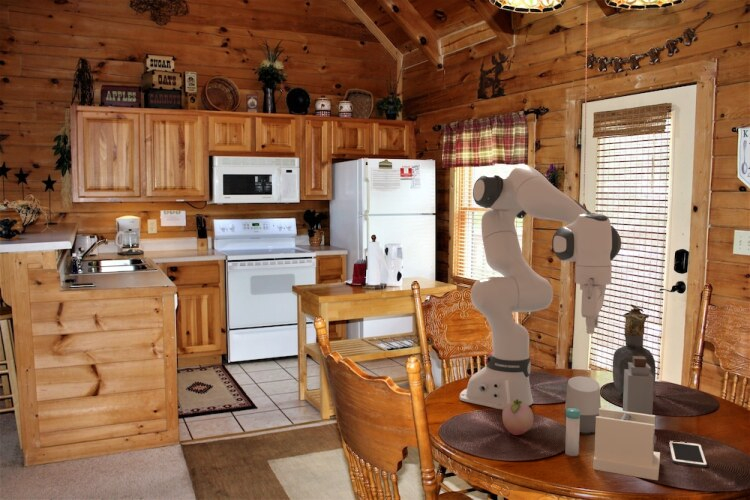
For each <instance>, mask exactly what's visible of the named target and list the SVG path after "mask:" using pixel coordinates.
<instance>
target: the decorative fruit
mask: <svg viewBox="0 0 750 500" xmlns="http://www.w3.org/2000/svg"><path fill="white" fill-rule="evenodd" d="M501 415H502V417H501V418H502V422H503V426H504V428H505V430H507V431H508V432H509V433H510V434H511V435H513V436H515V435H517V436H519V435H523V434H525V433H526V432H528V431H529V430H530V429H532V426H533V425H534V421H535V417H534V413H533V410H532V409H531V407H530V405H529V406H527V405H526V404H524V403H522V401H518V399H517V400H515V401H513V402H511V403H509V404H507V405H506V406H505V407H504V409H502V413H501Z"/></svg>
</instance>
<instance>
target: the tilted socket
mask: <svg viewBox="0 0 750 500" xmlns="http://www.w3.org/2000/svg"><path fill="white" fill-rule="evenodd" d="M655 422H656V415H655V414H652V415H648V414H641V413H634V412H627V411H623V410H618V409H610V408H603V407H601V408H599V416H596V427H595V432H594V456H593V462H592V463H593V464H592V465H593V466H592V467H593V468H592V469H593V470H595V471H596V470H597V471H601V472H607V473H612V474H619V475H625V476H631V477H636V478H642V479H647V480H654V481H659V472H660V459H661V452H660V451H659V452H658V451H655V449H654V448H655V444H656V443H657V435H656V434H655V428H656V427H655V426H656V423H655Z"/></svg>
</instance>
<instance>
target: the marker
mask: <svg viewBox="0 0 750 500" xmlns="http://www.w3.org/2000/svg"><path fill="white" fill-rule="evenodd" d="M579 427H580V410H578V409H575V408H568V409H566V423H565V447H564V448H565V450H564V451H565V453H564V454H565V455H567V456H569V457H577V456H578V455H579V451H580V433H579Z"/></svg>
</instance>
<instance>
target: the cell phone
mask: <svg viewBox="0 0 750 500" xmlns="http://www.w3.org/2000/svg"><path fill="white" fill-rule="evenodd" d="M669 441H670V442H669ZM673 441H675V440H673V439H672V440H671V439H669V440H668V442H669V444H668V448H669V447H670V449H669V453H671V454H670V458H672V459H671V462H672V464H675V463H679V464H678V465H680V464H686V465H685V466H688V465H693V466H692V467H695V466H700V467H699V468H703V467H707V468H708V461H707V459H706V456H705V452H704V450H703V446H702V444H701V443H698V442H697V443H696V442H691V441H690V442H689V441H681V440H679V441H680V442H673ZM685 442H687V443H685Z"/></svg>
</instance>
